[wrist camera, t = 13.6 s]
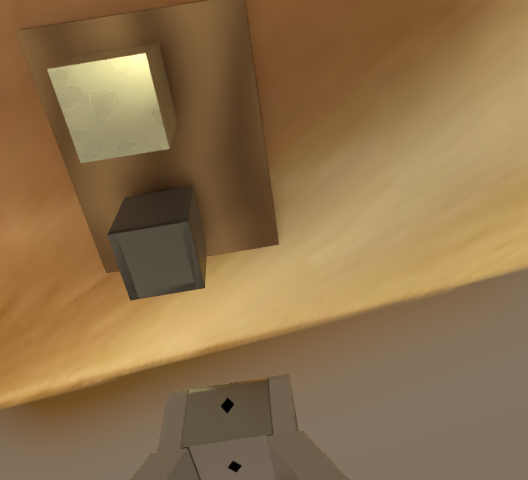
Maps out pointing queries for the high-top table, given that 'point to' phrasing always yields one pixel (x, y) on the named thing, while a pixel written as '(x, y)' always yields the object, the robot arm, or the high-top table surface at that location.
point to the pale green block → (116, 102)
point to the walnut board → (188, 117)
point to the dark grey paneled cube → (159, 243)
